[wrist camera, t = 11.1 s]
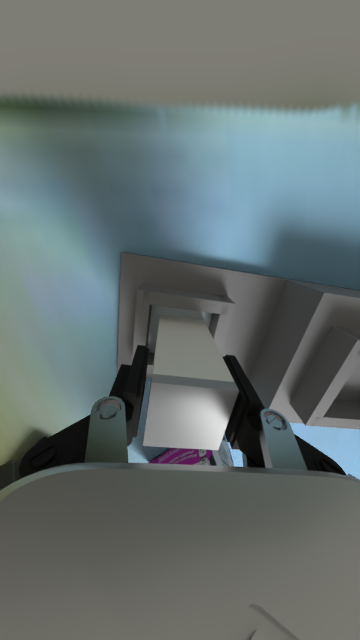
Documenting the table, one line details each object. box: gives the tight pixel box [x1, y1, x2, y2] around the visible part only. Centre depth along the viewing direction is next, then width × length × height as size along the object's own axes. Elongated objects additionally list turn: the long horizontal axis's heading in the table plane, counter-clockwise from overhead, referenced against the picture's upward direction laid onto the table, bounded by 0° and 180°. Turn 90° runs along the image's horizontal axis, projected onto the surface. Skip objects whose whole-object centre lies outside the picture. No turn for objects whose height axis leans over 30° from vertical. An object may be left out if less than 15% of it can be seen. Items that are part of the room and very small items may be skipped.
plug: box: [143, 314, 239, 450], centre depth 13 cm, size 4×4×9 cm
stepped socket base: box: [117, 252, 360, 429], centre depth 16 cm, size 25×12×7 cm, turn 81°
